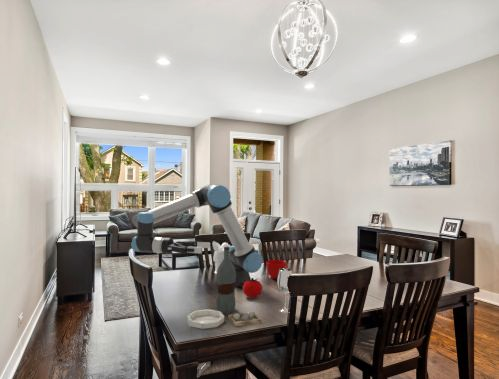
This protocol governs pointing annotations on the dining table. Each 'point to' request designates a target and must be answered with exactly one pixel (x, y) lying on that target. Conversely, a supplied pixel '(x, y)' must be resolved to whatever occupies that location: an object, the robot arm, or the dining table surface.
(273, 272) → the ceramic cup
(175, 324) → the dining table surface
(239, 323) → the parts tray
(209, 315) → the bowl
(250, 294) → the tomato
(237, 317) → the pebble
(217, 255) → the cherub figurine
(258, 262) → the robot arm
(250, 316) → the pebble
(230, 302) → the vodka
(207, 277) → the dining table surface
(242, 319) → the pebble
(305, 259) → the dining table surface
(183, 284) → the dining table surface
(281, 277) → the wineglass
